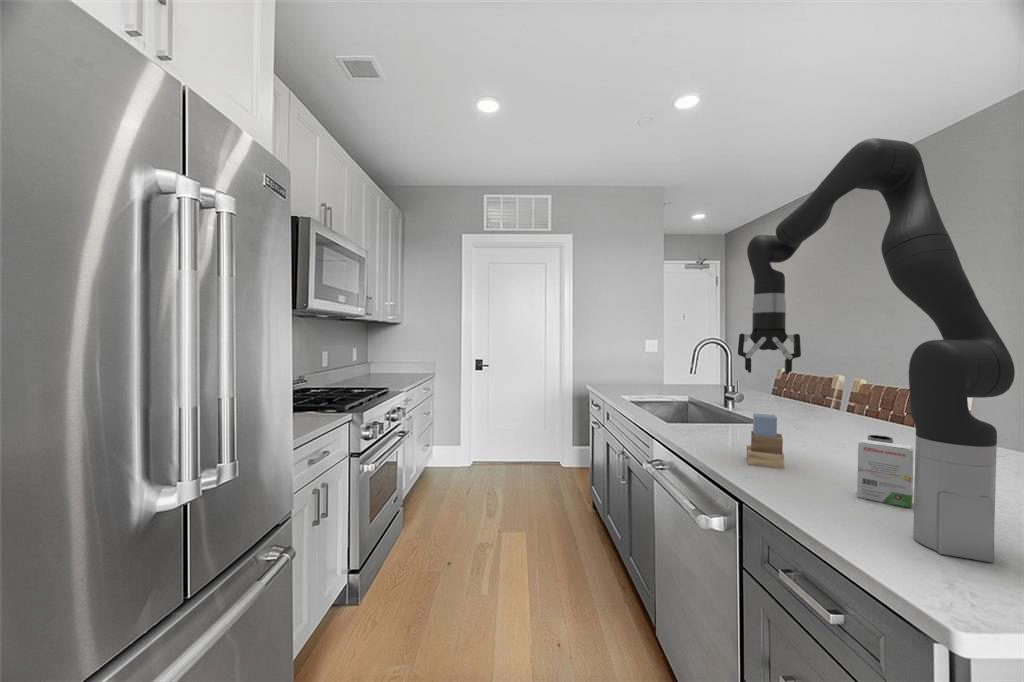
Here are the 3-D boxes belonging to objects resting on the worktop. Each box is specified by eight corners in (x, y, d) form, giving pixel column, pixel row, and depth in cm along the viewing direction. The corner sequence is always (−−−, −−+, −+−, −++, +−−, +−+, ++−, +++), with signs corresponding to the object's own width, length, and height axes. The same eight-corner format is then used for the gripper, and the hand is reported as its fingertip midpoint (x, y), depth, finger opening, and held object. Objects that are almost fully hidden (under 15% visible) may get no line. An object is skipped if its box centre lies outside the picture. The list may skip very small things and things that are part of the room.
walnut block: (782, 454, 113) (782, 439, 112) (751, 451, 116) (751, 436, 116) (780, 448, 119) (781, 433, 119) (751, 445, 122) (751, 430, 122)
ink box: (913, 502, 90) (914, 445, 90) (911, 509, 87) (912, 449, 87) (860, 491, 97) (861, 437, 96) (856, 497, 93) (857, 441, 93)
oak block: (783, 470, 112) (784, 455, 112) (748, 466, 116) (748, 451, 116) (780, 462, 120) (780, 447, 120) (746, 458, 123) (746, 444, 123)
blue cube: (776, 437, 114) (776, 418, 114) (754, 435, 116) (754, 416, 116) (774, 433, 119) (774, 415, 119) (753, 431, 121) (753, 413, 121)
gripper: (739, 311, 116) (738, 373, 116) (803, 310, 110) (802, 375, 110) (737, 312, 123) (737, 371, 123) (798, 312, 117) (797, 373, 117)
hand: (767, 373), depth 117 cm, fingers open, 8 cm apart
